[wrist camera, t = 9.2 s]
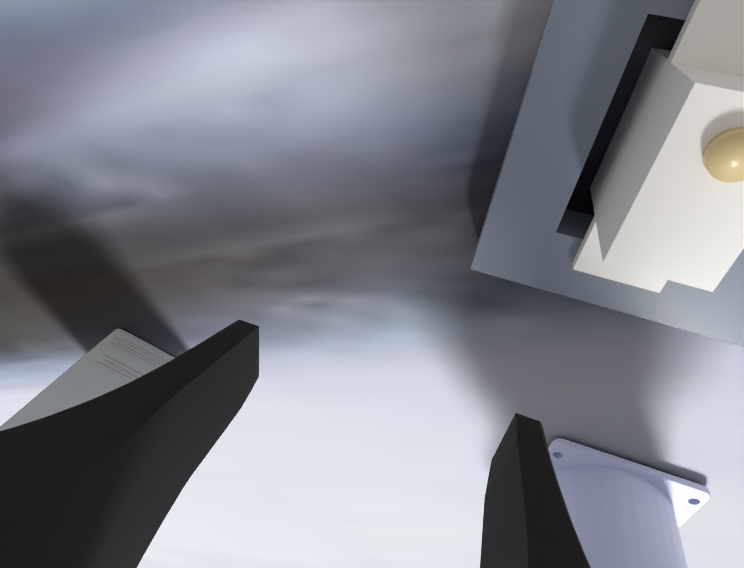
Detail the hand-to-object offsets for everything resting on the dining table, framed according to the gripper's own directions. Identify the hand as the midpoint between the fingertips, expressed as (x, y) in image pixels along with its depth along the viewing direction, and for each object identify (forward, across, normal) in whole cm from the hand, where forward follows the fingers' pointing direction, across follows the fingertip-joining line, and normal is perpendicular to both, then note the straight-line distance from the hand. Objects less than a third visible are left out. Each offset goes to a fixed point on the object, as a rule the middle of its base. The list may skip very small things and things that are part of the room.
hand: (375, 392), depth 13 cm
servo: (+10, -6, -6) cm, 14 cm away
